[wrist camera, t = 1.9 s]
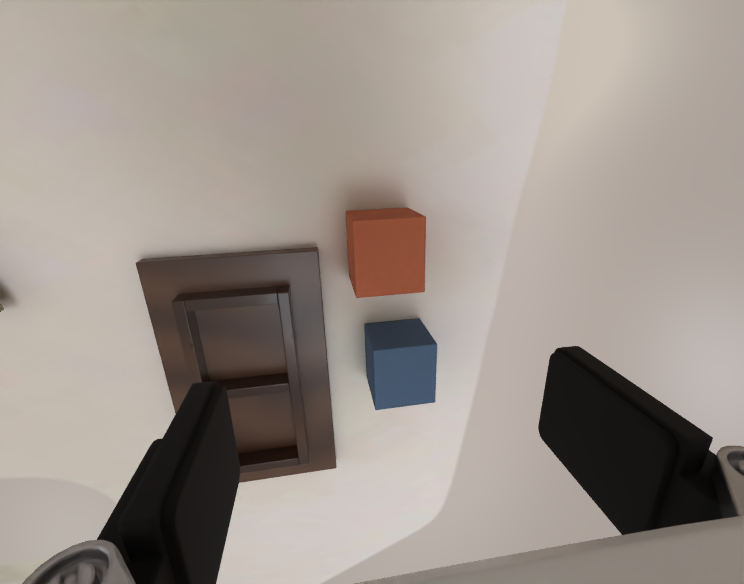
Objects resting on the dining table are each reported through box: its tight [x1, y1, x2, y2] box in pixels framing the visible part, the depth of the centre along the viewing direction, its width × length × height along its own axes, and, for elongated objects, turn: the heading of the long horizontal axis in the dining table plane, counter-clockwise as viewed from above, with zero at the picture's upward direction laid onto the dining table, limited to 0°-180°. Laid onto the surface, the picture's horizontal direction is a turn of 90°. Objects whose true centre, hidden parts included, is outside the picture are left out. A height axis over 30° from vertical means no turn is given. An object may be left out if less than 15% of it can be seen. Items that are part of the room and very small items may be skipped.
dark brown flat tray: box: [136, 248, 336, 483], centre depth 28 cm, size 20×12×2 cm, turn 3°
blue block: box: [365, 319, 437, 410], centre depth 29 cm, size 5×5×4 cm
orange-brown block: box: [346, 208, 426, 298], centre depth 25 cm, size 5×5×4 cm
